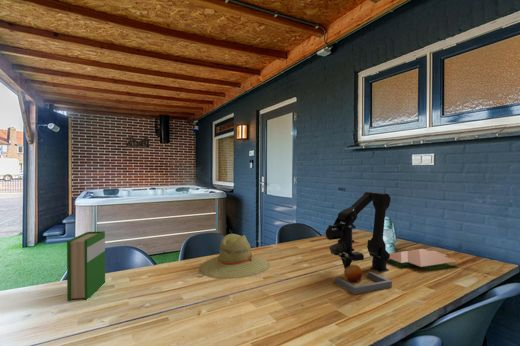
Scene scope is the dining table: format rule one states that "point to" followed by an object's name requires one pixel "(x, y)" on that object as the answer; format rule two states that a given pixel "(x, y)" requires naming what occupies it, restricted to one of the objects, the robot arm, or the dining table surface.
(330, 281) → the dining table surface
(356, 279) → the fruit
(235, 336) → the dining table surface
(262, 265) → the straw hat
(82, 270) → the hardback book
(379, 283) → the corral
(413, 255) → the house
